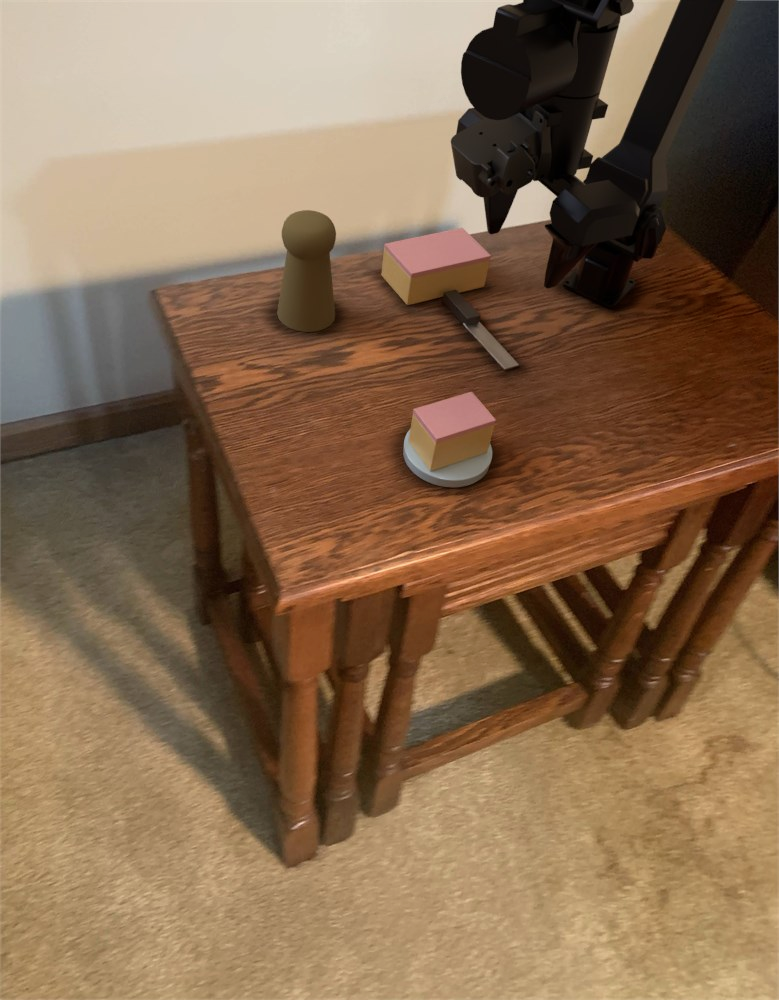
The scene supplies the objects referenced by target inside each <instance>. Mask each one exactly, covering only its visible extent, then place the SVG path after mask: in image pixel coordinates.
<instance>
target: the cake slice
mask: <svg viewBox="0 0 779 1000" xmlns="http://www.w3.org/2000/svg"><path fill="white" fill-rule="evenodd" d="M411 418H412V419H411V424H410V428H409V430H410V435H409V443H410V445H411V446H412V447H413V449H414V450H415V451H416V453H417V454H418V455H419V457H420V458H421V459H422V461H423V462H424V463H425V465H426V466H427V467H428V469H429V470H430V471H433V470H436V469H439V468H442V467H445V466H448V465H451V464H454V463H457V462H460V461H463V460H466V459H469V458H472V457H475V456H478V455H481V454H484V453H487V452H488V448H489V444H491V440H492V438H493V437H492V436H493V432H494V429H495V425H496V422H497V419H496V418H495V417H494V416H493V415H492V414H491V412H490V411H489V410H488V409H487V408H486V407H485V405H484V404H483V403H482V402H481V401H480V399H479V398H478V397H477V396H476V394H475V393H474V392H473V391H468V392H465V393H463V394H459V395H456V396H453V397H450V398H447V399H446V398H445V399H442V400H439V401H435V402H432V403H428V404H426V405H422V406H418V407H415V408H413V410H412V417H411Z"/></svg>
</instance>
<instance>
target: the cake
mask: <svg viewBox="0 0 779 1000" xmlns="http://www.w3.org/2000/svg"><path fill="white" fill-rule="evenodd" d="M383 248H384V249H383V255H382V256H383V257H382V266H381V277H382V278H383V279H384V281H386V283H387V284H388V285H389V287H391V288H392V290H393V291H394V292H395V293H396V294H397V296H398V297H399V298H400V299H401V300H402V301H403V302H404V303H405V304H406V305H405V306H410V305H415V304H419V303H423V302H428V301H431V300H435V299H439V298H443V294H444V292H447V291H451V290H457V291H458V292H459V293H460V294H461V293H464V292H468V291H472V290H473V291H474V290H476V289H480V288H485V286H486V282H487V281H486V279H487V275H488V272H489V266H490V263H491V257H492V256H491V254H490V253H489V252H488V251H487V250H486V248H484V247H483V246H482V245H481V244H480V243H479V242H478V241H477V240H476V239H474V237H473V236H471V234H470V233H469V232H468V231H466V229H465V228H464V227H459V228H453V229H449V230H444V231H440V232H435V233H430V234H424V235H419V236H416V237H411V238H405V239H401V240H400V239H399V240H396V241H391V242H386V243H384V245H383Z"/></svg>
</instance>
